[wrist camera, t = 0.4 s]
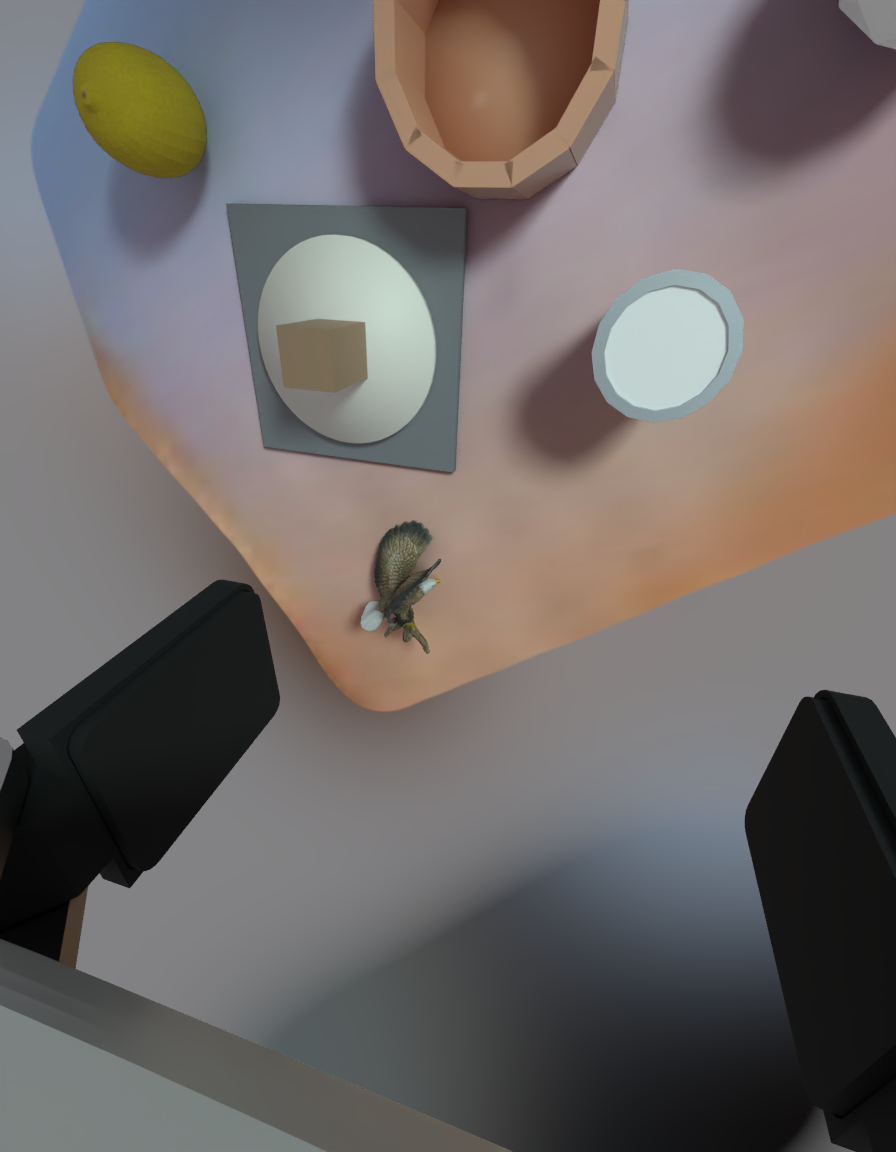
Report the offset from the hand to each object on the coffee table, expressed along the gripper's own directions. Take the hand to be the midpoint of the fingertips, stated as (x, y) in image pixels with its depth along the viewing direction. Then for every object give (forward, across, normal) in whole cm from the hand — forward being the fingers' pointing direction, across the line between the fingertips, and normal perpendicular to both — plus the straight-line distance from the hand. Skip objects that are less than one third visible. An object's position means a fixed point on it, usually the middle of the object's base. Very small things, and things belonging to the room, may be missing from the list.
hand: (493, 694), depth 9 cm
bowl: (+29, +6, -16) cm, 33 cm away
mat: (+29, +16, -2) cm, 33 cm away
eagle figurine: (+30, +12, +16) cm, 35 cm away
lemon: (+29, +26, -14) cm, 41 cm away
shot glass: (+29, -4, -4) cm, 30 cm away
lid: (+28, +16, -2) cm, 33 cm away
